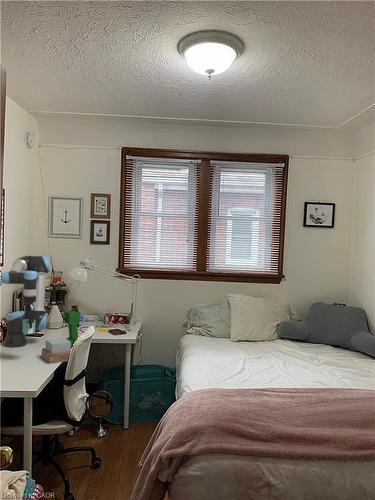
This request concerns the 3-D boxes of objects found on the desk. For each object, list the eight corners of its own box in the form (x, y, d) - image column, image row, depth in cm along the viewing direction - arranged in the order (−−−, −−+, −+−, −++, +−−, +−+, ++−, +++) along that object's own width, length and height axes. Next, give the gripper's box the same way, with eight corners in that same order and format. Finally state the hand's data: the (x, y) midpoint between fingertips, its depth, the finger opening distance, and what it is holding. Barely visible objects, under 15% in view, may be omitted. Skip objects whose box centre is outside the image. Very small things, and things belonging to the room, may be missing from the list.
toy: (63, 346, 278) (64, 304, 277) (83, 345, 283) (85, 304, 282) (64, 350, 268) (65, 307, 267) (85, 349, 273) (86, 306, 272)
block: (22, 332, 244) (22, 319, 244) (32, 331, 248) (32, 318, 248) (25, 334, 240) (25, 321, 239) (35, 333, 243) (35, 320, 243)
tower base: (41, 357, 251) (41, 348, 251) (65, 354, 261) (66, 345, 261) (49, 364, 238) (49, 355, 238) (74, 360, 248) (74, 351, 248)
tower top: (45, 349, 250) (45, 339, 250) (63, 346, 258) (64, 337, 257) (51, 353, 241) (52, 344, 241) (70, 351, 248) (70, 341, 248)
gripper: (19, 293, 248) (18, 329, 249) (27, 298, 233) (26, 336, 234) (31, 293, 253) (30, 328, 254) (40, 297, 238) (39, 334, 238)
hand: (28, 332), depth 244 cm, fingers closed on block, 6 cm apart
